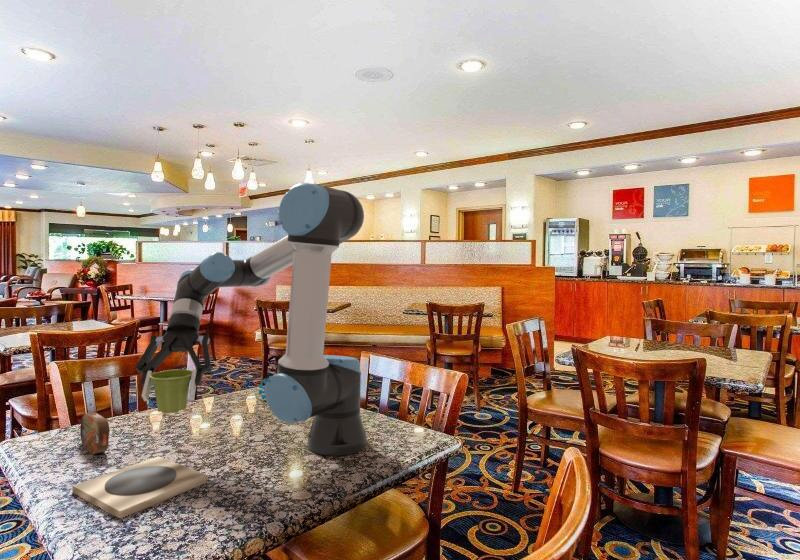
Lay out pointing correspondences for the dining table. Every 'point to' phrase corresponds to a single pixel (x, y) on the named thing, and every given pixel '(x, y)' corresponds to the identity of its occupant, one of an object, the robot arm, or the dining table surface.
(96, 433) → the tin
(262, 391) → the gear
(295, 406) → the robot arm
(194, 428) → the dining table surface
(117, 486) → the serving board
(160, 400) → the plant pot
